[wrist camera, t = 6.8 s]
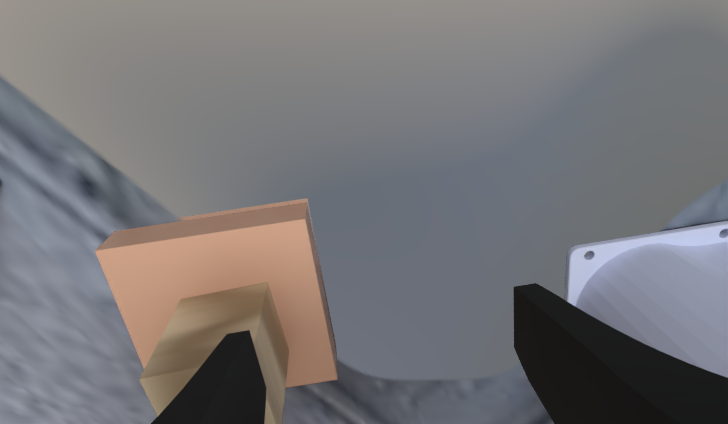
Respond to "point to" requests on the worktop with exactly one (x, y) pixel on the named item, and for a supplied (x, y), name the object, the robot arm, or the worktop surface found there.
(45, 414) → the worktop surface
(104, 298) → the worktop surface
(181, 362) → the beech block
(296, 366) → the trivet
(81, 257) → the worktop surface
